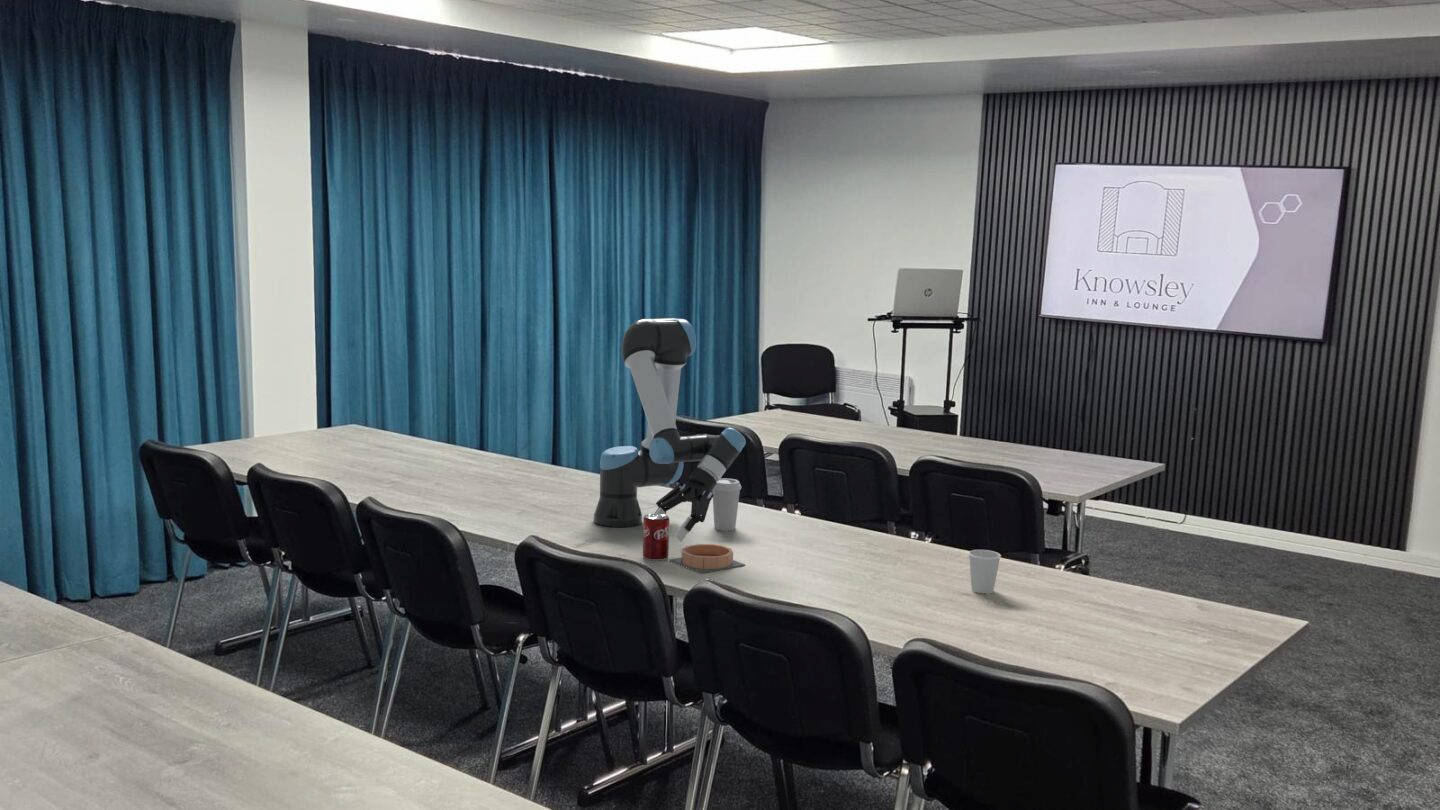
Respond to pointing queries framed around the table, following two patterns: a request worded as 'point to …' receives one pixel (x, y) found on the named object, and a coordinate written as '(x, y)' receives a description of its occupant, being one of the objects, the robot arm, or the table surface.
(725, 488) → the coffee cup
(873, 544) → the table surface
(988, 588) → the dixie cup
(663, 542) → the soda can
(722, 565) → the bowl
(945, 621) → the table surface
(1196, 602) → the table surface
